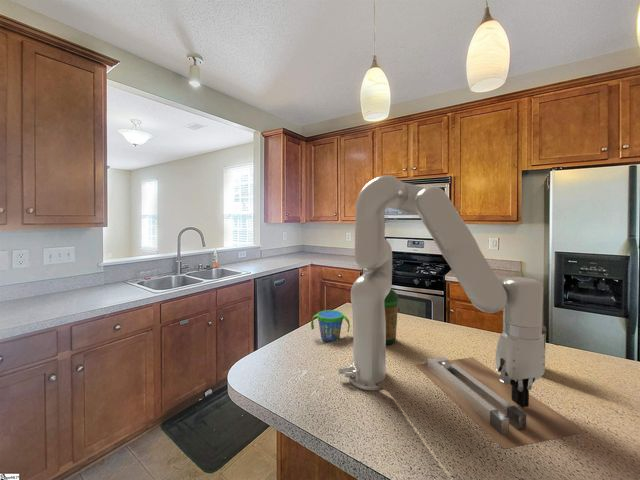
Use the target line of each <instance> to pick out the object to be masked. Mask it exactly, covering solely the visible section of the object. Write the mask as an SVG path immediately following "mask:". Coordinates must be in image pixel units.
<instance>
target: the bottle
mask: <svg viewBox="0 0 640 480" xmlns="http://www.w3.org/2000/svg"><path fill="white" fill-rule="evenodd" d="M384 308H385V320H386V347H387V346H392V345H395V344H396V341H397V325H398V310H399V295H398V293H397V292H396V291H394V290H393V289H392V288H391V290H390V292H389V294H388V295H387V296H386V298H385V299H384Z"/></svg>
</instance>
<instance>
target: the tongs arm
mask: <svg viewBox="0 0 640 480" xmlns="http://www.w3.org/2000/svg"><path fill="white" fill-rule="evenodd" d="M441 365H442V366H443V367H444V368H445V369H447V370H448V371H449V372H450V373H452V374H453V375H454V376H455V377H457V378H458V379H459V380H460V381H462V382H463V383H464V384H465V385H466V386H468V387H469V388H470V389H471V390H473V391H474V392H475V393H476V394H478V395H479V396H480V397H481V398H483V399H484V400H485V401H486V402H488V403H489V404H490V405H491V406H493V407H494V408H495V409H496V410H497V409H498V410H499V411H500V412H502V413H503V414H504V415H505V416H507V417H508V418H509V423H510V424H511V425H513V426H514V427H515V428H516V429H518V430H521V429H526V414H525V413H524V412H522V411H521V410H520V409H518V408H517V407H515V406H512V405H511V404H510V403H508V402H507V401H505V400H504V399H503V398H501V397H500V396H499V395H497V394H496V393H494V392H493V391H492V390H490V389H489V388H488V387H486V386H485V385H483V384H482V383H481V382H479V381H478V380H476V379H475V378H474V377H472V376H471V375H470V374H468V373H467V372H465V371H464V370H463V369H461V368H460V367H459V366H457V365H456V364H450V363H449V362H447V361H442V362H441Z"/></svg>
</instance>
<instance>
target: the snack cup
mask: <svg viewBox="0 0 640 480" xmlns="http://www.w3.org/2000/svg"><path fill="white" fill-rule="evenodd" d="M315 318H317V320H318V328H319V332H320V338H321V339H322V340H323V341H324V342H335V341H338V340H340V337H341V331H342V325H343V320H345V321H346V323H347V333H349V332H350V326H351V325H350V320H349V319H348V317H347V316H346V315H345V314H344V313H343V312H341V311H338V310H334V309H327V310H320V311H318V312H317V313H316V314H315V315H313V317H312V319H311V322H310V328H311V330H313V331H314V329H315V326H314V319H315Z"/></svg>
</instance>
